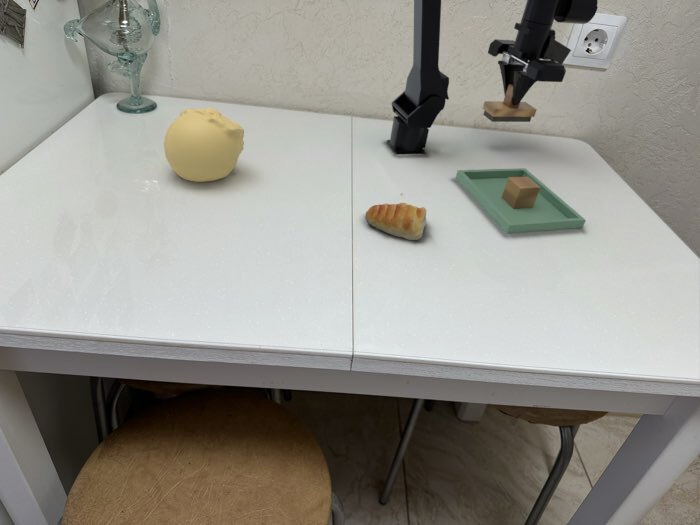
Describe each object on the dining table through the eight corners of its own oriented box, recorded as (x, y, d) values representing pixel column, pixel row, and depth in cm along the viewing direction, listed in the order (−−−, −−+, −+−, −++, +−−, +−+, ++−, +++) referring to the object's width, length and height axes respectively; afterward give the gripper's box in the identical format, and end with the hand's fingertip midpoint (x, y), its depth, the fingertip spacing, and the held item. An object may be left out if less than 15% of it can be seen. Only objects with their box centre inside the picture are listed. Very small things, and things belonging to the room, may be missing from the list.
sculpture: (254, 171, 86) (253, 110, 79) (206, 197, 77) (201, 132, 71) (204, 151, 90) (199, 92, 83) (153, 174, 81) (143, 110, 75)
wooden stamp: (491, 122, 101) (501, 89, 96) (480, 114, 104) (490, 81, 100) (532, 122, 103) (543, 90, 99) (521, 114, 107) (531, 82, 103)
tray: (505, 236, 78) (509, 225, 77) (454, 180, 92) (457, 170, 91) (581, 230, 82) (586, 219, 81) (521, 177, 96) (525, 168, 95)
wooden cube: (513, 208, 84) (520, 188, 82) (501, 197, 87) (508, 177, 85) (532, 207, 85) (540, 187, 83) (520, 196, 88) (527, 176, 86)
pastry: (361, 231, 74) (364, 209, 72) (368, 209, 80) (372, 189, 78) (422, 243, 73) (427, 222, 71) (425, 221, 79) (430, 200, 77)
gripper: (604, 36, 88) (571, 120, 97) (544, 12, 102) (520, 88, 111) (552, 32, 84) (523, 120, 94) (497, 9, 98) (476, 87, 108)
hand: (511, 102), depth 102 cm, fingers closed on wooden stamp, 2 cm apart
